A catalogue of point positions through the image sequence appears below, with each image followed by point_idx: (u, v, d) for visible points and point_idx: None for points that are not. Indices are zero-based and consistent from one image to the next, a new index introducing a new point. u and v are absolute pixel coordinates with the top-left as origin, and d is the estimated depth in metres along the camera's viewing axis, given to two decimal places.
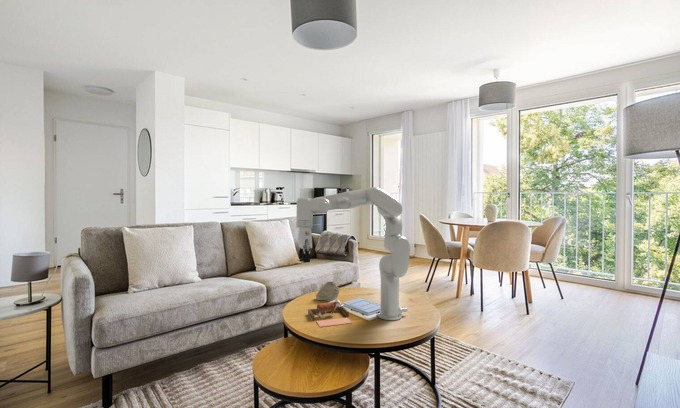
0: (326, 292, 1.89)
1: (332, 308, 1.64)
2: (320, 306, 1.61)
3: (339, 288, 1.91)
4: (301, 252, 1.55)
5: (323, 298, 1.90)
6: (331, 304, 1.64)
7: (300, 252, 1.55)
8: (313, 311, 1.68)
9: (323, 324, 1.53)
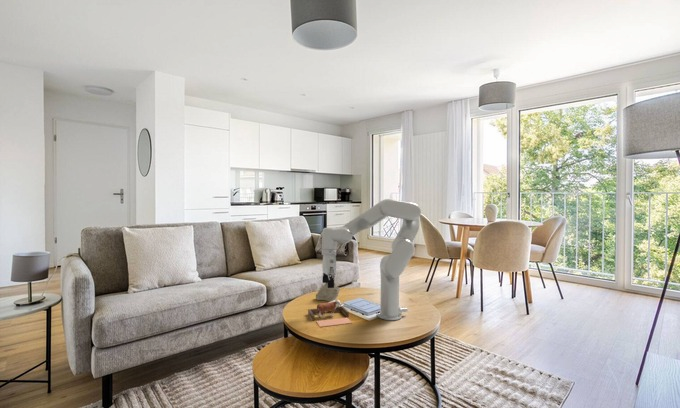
0: (326, 292, 1.89)
1: (332, 308, 1.64)
2: (320, 306, 1.61)
3: (339, 288, 1.91)
4: (325, 277, 1.69)
5: (323, 298, 1.90)
6: (331, 304, 1.64)
7: (324, 277, 1.69)
8: (313, 311, 1.68)
9: (323, 324, 1.53)
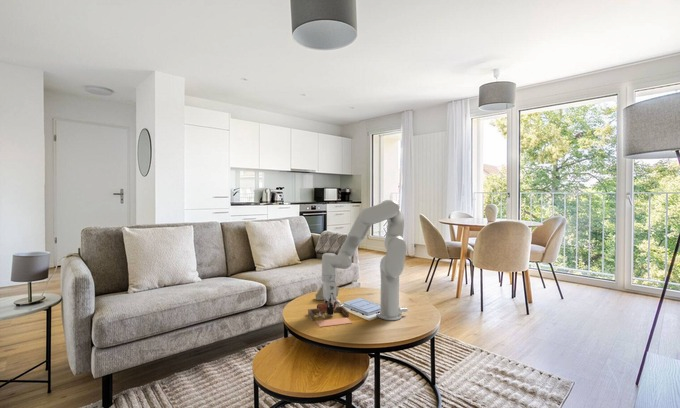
0: None
1: None
2: (320, 306, 1.61)
3: None
4: None
5: (323, 298, 1.90)
6: None
7: None
8: (313, 311, 1.68)
9: (323, 324, 1.53)
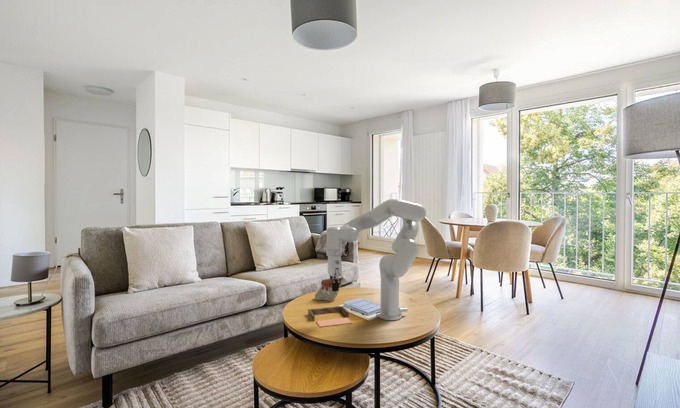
0: (325, 292, 1.90)
1: None
2: (325, 282, 1.54)
3: None
4: None
5: (322, 298, 1.90)
6: None
7: None
8: (313, 311, 1.68)
9: (323, 324, 1.53)
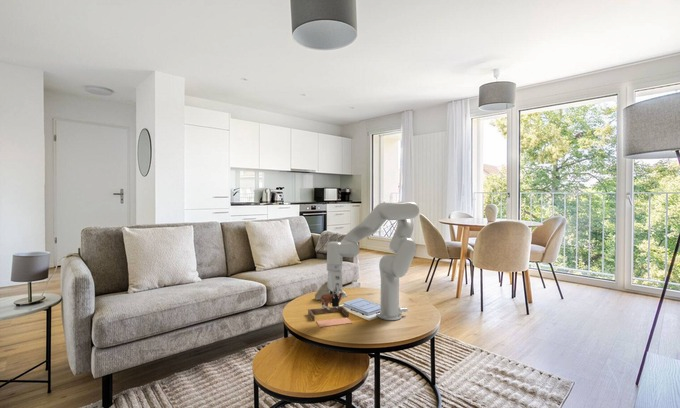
0: (325, 292, 1.90)
1: None
2: (325, 297, 1.53)
3: None
4: None
5: None
6: None
7: None
8: (313, 311, 1.68)
9: (323, 324, 1.53)
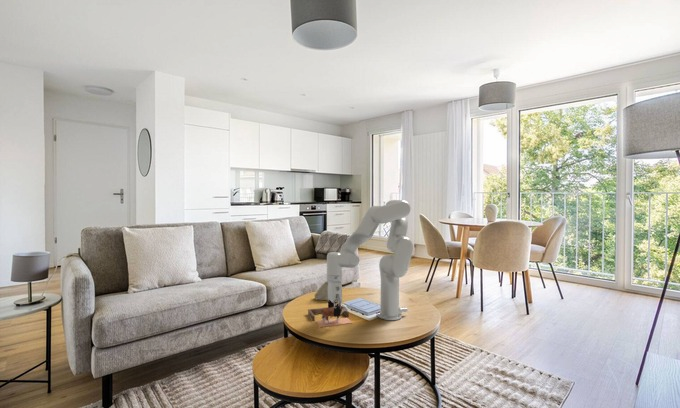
0: (325, 292, 1.90)
1: None
2: (325, 311, 1.53)
3: None
4: (330, 304, 1.60)
5: (322, 298, 1.90)
6: None
7: (329, 304, 1.60)
8: (313, 311, 1.68)
9: (323, 324, 1.53)
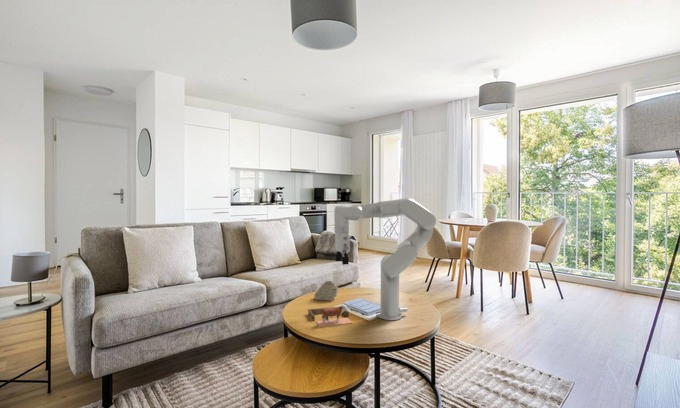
0: (325, 292, 1.90)
1: (338, 313, 1.56)
2: (325, 311, 1.53)
3: (337, 287, 1.93)
4: (338, 255, 1.72)
5: (322, 298, 1.90)
6: (337, 309, 1.56)
7: (337, 255, 1.72)
8: (313, 311, 1.68)
9: (323, 324, 1.53)
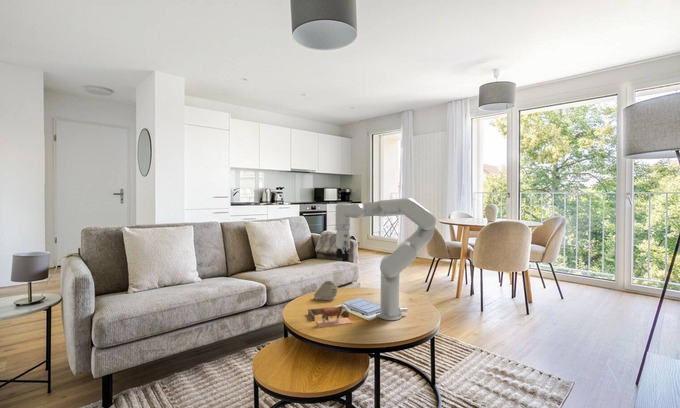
0: (325, 291, 1.90)
1: (338, 313, 1.56)
2: (325, 311, 1.53)
3: (337, 287, 1.93)
4: (338, 252, 1.74)
5: (322, 298, 1.91)
6: (337, 309, 1.56)
7: (338, 252, 1.74)
8: (313, 311, 1.68)
9: (323, 324, 1.53)
